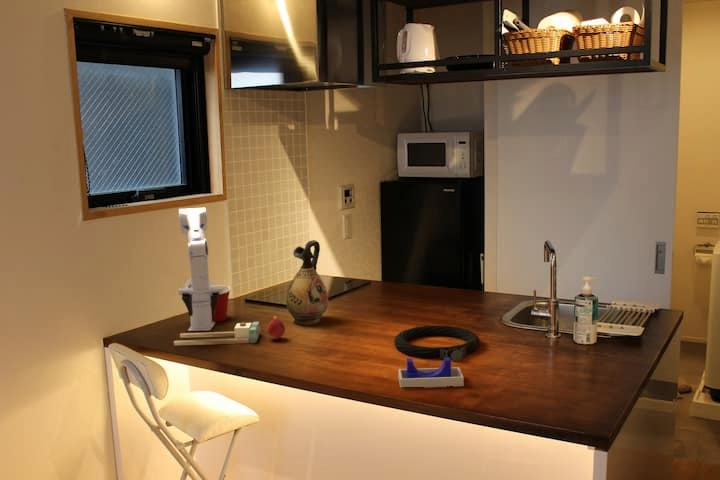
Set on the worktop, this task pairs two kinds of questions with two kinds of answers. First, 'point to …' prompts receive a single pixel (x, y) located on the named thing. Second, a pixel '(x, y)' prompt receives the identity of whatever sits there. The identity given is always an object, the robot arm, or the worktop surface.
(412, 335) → the cable lock
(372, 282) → the worktop surface
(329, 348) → the worktop surface
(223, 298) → the plastic cup
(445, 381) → the shallow grey tray
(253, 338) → the guide rail
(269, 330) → the onion
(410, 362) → the blue saddle holder
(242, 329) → the block
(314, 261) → the ceramic jug
